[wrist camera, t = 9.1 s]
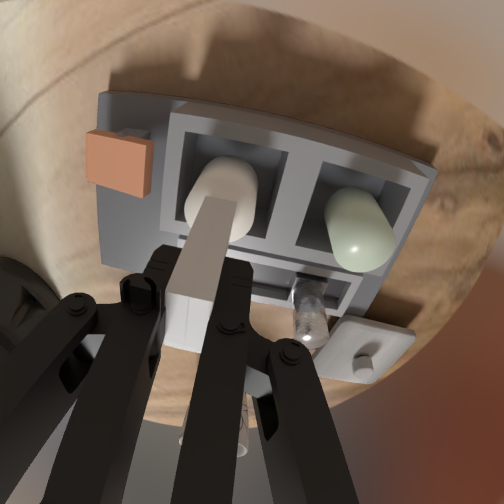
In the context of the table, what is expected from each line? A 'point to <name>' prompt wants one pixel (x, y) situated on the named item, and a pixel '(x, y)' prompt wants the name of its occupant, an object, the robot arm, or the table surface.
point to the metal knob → (309, 309)
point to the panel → (268, 194)
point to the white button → (226, 191)
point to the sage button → (358, 230)
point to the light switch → (361, 349)
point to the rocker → (119, 162)
